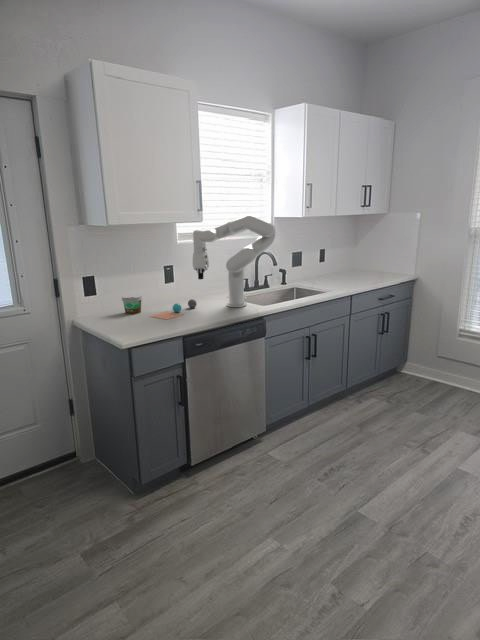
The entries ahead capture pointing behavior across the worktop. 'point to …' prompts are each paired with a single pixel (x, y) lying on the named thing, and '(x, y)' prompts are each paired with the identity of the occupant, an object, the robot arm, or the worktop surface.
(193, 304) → the grey ball
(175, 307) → the object ball
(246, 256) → the robot arm
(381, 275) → the worktop surface
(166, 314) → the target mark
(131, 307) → the food container
